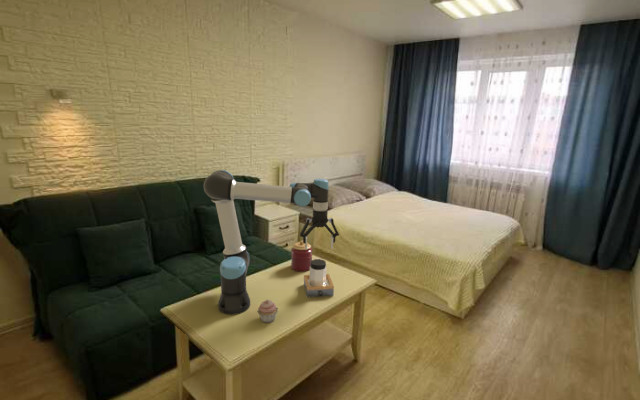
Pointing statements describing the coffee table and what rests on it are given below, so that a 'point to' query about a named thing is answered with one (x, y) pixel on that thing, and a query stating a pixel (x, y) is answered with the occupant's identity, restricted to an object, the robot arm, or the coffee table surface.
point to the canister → (301, 257)
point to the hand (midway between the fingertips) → (318, 248)
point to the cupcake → (267, 311)
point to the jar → (317, 272)
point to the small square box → (318, 288)
